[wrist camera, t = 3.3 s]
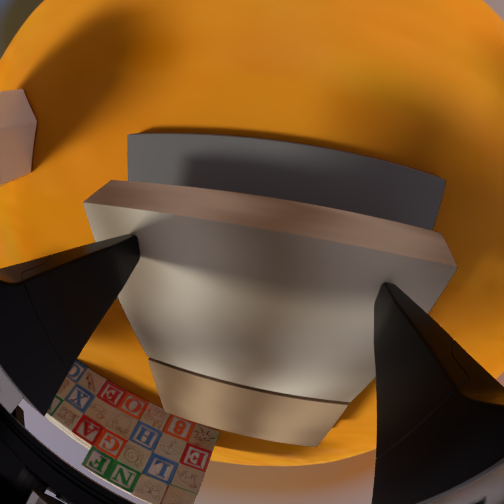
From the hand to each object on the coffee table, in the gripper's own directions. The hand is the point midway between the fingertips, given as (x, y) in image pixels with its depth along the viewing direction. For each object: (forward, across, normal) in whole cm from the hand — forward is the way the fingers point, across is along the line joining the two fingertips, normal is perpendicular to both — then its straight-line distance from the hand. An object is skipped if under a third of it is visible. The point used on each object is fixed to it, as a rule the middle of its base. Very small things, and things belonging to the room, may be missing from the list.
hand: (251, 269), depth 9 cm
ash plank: (+3, 0, +4) cm, 5 cm away
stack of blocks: (+5, +14, +27) cm, 31 cm away
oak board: (+4, 0, +15) cm, 15 cm away
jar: (+5, +23, -5) cm, 24 cm away
